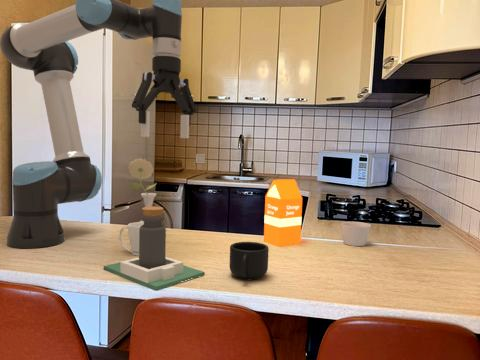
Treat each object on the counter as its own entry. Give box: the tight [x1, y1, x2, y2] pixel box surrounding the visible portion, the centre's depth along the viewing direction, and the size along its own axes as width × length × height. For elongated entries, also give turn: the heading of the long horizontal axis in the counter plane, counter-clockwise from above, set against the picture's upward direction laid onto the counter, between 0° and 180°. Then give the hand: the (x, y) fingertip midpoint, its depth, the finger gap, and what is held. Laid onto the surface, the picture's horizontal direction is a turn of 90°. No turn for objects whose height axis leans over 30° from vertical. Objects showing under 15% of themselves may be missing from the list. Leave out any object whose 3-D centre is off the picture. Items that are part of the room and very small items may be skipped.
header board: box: [103, 256, 205, 291], centre depth 99 cm, size 20×14×3 cm
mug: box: [229, 241, 270, 280], centre depth 97 cm, size 12×9×7 cm
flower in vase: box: [127, 158, 158, 222], centre depth 134 cm, size 13×11×25 cm
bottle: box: [138, 205, 167, 269], centre depth 95 cm, size 6×6×15 cm
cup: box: [118, 221, 144, 256], centre depth 115 cm, size 7×10×8 cm
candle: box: [341, 221, 372, 247], centre depth 133 cm, size 9×9×6 cm
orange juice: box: [263, 178, 303, 248], centre depth 131 cm, size 8×9×20 cm
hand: (165, 137), depth 113 cm, fingers open, 13 cm apart
